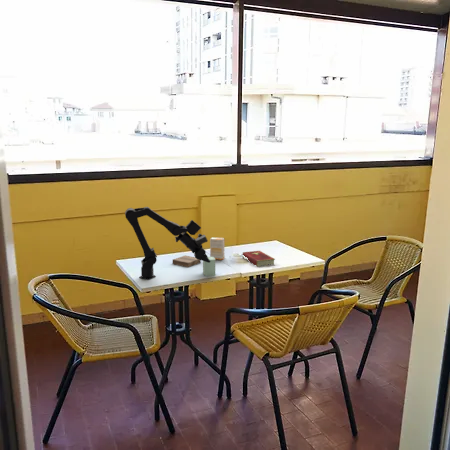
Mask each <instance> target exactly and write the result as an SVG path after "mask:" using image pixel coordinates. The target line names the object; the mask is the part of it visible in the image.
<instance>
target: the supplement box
mask: <svg viewBox="0 0 450 450" xmlns="http://www.w3.org/2000/svg"><path fill="white" fill-rule="evenodd" d="M209 248H210V251H209V254H210V256H209V257H214V258H215V260H220V261H223V260H224V259H225V257H226V256H225V238H224V237H213V236H212V237H211V238H209Z"/></svg>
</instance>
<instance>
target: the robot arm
mask: <svg viewBox="0 0 450 450" xmlns="http://www.w3.org/2000/svg"><path fill="white" fill-rule="evenodd" d="M124 215H125V216H124V217H125V218H126V220H127V222H128V223H129V224H130V226H131V227H132V229H133V231H134V233H135V236H136V237H137V240H138V242H139V244H140V247H141V248H142V250H143V251H142V252H143V255H144V257H143V258H142V260H140V261H141V269H140V271H141V275H140V276H139V277H138V278H139V279H144V280H148V281H149V280H151V279H153V278H156V276H157V275H154V265H155V264H156V263H157V261H158V260H157V258H158V255H157V253H156V252H155V249H154V247H152V248H151V247H150V246H149V243H148V242H147V239H146V236H145V235H144V232H143V230H142V227H141V225H140V223H139V220H138V219H139V218H141V217H144V216H145V217H146V216H147V217H149V219H150V218H151V219H152V220H153V221H154V222H156V223H158V224H160V225H161V226H162V227H164V228H165V229H166V230H167V232H169V233H170V234H171V235H173V236H174V238H175V240H174V241H175V243H178V242H181V243H182V244H183V245H184V246H185V247H186V248H187V249H189V251H190V252H191V253H193V255H194V256H193V257H195V258H196V259H198V260H201V262H203V261H205V262H208V263H210V260H209V258H208V257H209V256H208V254H206V253H207V251H206V249H204V247H203V244H205V243H207V242H208V238H207V237H206V235H205V234H202V233H198V232H199V231H200V230H201V229H202V227H201V226H200V225H199V224H198V222H195V221H194V220H193V219H190V221H189V222H188V224H186V226H185V225H180V224H178V223H177V222H174V221H171V220H168V219H167V218H165V217H163V216H162V215H160V214H159V213H157V212H155V211H154V210H153V209H151V208H150V207H149V206H144V207H138V208H132V207H129V208H127V209H125V211H124ZM197 233H198V234H197ZM196 234H197V238H194V237H192V236H195V235H196Z"/></svg>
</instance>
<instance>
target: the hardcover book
mask: <svg viewBox="0 0 450 450" xmlns="http://www.w3.org/2000/svg"><path fill="white" fill-rule="evenodd" d="M242 255H244V256H245V257H247V258H248V260H249V261H250V262H249V261H248V262H249V263H250V264H252V263H253V264H252V265H254V266H255V265H256V267H262V266H261V265H265V266H269V265H268V264H274V265H275V261H276V258H274V257H272V256H270V255H268V254H267V253H265V252H263V251H261V250H253V251H243V252H242Z"/></svg>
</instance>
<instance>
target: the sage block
mask: <svg viewBox="0 0 450 450" xmlns="http://www.w3.org/2000/svg"><path fill="white" fill-rule="evenodd" d="M208 258H209V260H210V263H208V262H205V261H202V274H203V275H204V276H206V277H209V276H216V259H215V258H214V257H210V256H208Z"/></svg>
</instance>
